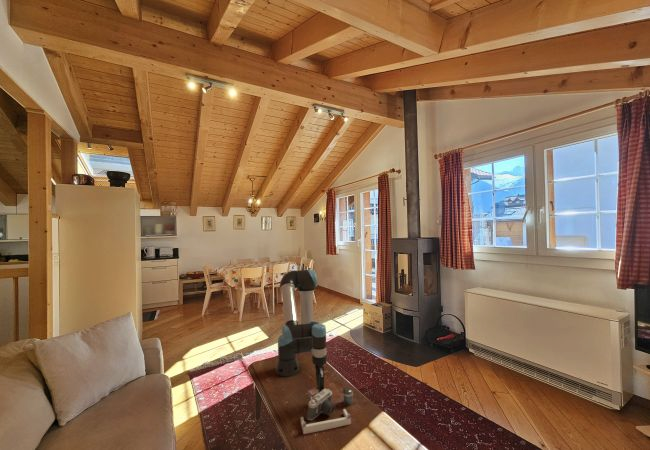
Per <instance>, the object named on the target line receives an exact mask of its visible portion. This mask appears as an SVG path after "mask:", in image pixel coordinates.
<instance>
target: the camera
mask: <svg viewBox="0 0 650 450" xmlns="http://www.w3.org/2000/svg"><path fill="white" fill-rule="evenodd" d="M332 396H333V392H332V390H330V388H326V387H324V389H323V390H322V391H321V392H319V393H318V394H317V393H316V394H315V395H313V396H311V397H310V400H309V402H308V405H307V411H306V412H307V413H306V419H307V420H308V421H313V420H314V419H316V418H317V417H319V416H320V415H321V414H322V413H323V414H325V415H327V416H329V415H332V414H333V412H334V409H335V406H334V404H333V403H332Z"/></svg>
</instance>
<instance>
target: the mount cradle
mask: <svg viewBox="0 0 650 450" xmlns="http://www.w3.org/2000/svg"><path fill="white" fill-rule="evenodd" d="M342 411H343V412H342V413H343V416H344V417H338V418H333V419H328V420H323V421H318V422H313V423H312V422H311V423H307V422H306V421H305V420H304V416H300V425H301V429H302V433H303V435H306V434H311V433H316V432H321V431H327V430H331V429H335V428H339V427H343V426H348V425H351V424H352V418H351V416H352V415H351V413H348V411H347V409H346V408H343V410H342Z"/></svg>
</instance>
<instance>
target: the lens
mask: <svg viewBox="0 0 650 450" xmlns="http://www.w3.org/2000/svg"><path fill="white" fill-rule="evenodd" d="M342 397H343V401H342V402H343V403H342V404H343V405H344V406H347V407H350V406H352V405H353V404H354V391H353V388H352V387H344V388H343V389H342Z"/></svg>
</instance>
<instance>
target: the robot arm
mask: <svg viewBox="0 0 650 450" xmlns="http://www.w3.org/2000/svg"><path fill="white" fill-rule="evenodd" d="M317 287H318V277H317V274H316V271H315V270H314V269H301V270H290V271H288V272H286V273H285V274H284V275H283V276H282V278H281V280H280V282H279V291H280V293H281V295H282V296H281V297H282V299H281V300H282V307H283V316H284V317H283V318H284V325H283V326H282V327H281V335H279V336H278V339H277V363H276V366H275V374H276V375H277V376H280V377H285V378H287V377H292V376H294V375H297V374H298V373H299V371H300V365H299V361H298V359H297V355H300V354H308V353H310V354H311V353H312V356H311V360H312V361H311V362H312V364H313V365H314V366H315V367H314V369H315V382H316V390H317V391H316V392H317V393H316V394H318V393H319V392H321V391H322V390H323V389H325V375H326V373H325V372H324V371H325V367H324V365H325V364H326V363H327V326H326V325H325V324H323V323H319V322H318V321H316V320H314V292H315V291H316V288H317ZM296 289H297V292H298V293H299V298H300V300H299V303H300V304H299V305H300V307H299V310H300V323H299V317H298V310H297V304H296V298H295V297H296V296H295V290H296Z"/></svg>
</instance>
